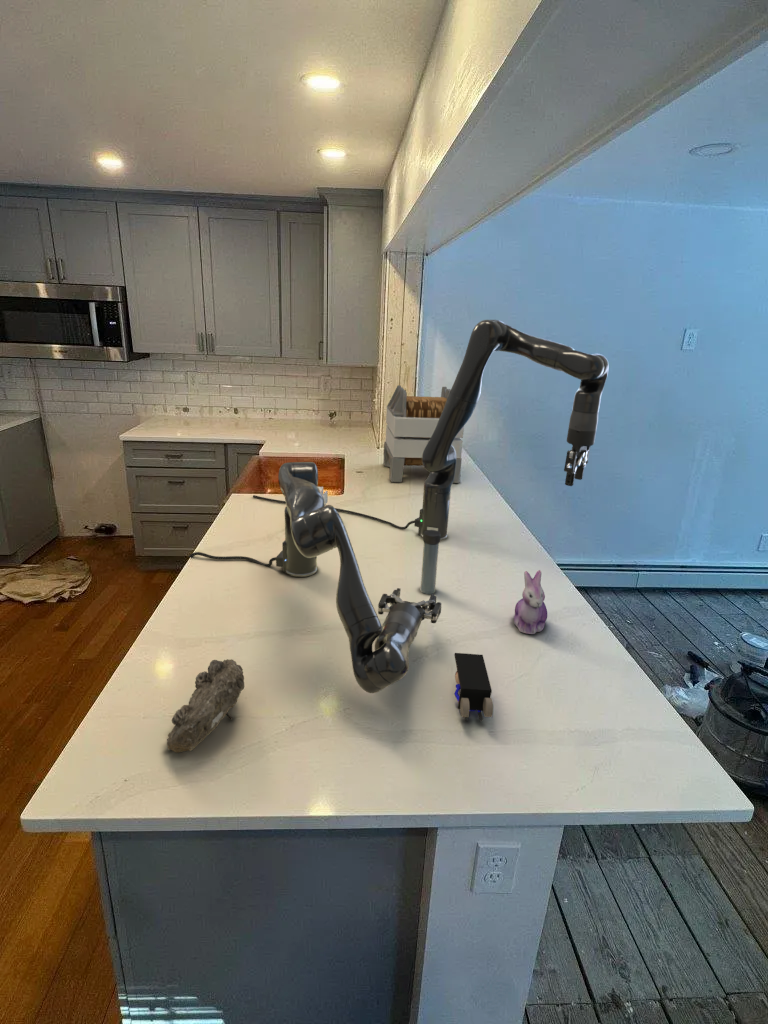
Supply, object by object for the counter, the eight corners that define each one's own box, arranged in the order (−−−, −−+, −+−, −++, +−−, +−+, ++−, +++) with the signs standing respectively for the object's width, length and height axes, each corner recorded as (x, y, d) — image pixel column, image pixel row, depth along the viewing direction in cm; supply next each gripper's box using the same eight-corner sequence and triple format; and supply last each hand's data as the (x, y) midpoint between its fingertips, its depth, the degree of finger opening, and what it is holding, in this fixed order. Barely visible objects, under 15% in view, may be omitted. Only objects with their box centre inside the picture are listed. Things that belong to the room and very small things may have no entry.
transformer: (382, 463, 289) (386, 382, 275) (445, 464, 293) (451, 384, 279) (390, 482, 257) (394, 392, 243) (460, 483, 261) (468, 394, 247)
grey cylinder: (419, 587, 162) (423, 531, 157) (434, 587, 163) (438, 531, 157) (420, 593, 158) (425, 537, 153) (435, 594, 159) (440, 537, 153)
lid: (422, 537, 157) (422, 529, 157) (438, 538, 158) (439, 530, 157) (423, 544, 153) (424, 535, 152) (440, 544, 153) (441, 536, 152)
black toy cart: (492, 733, 109) (479, 678, 122) (498, 704, 105) (484, 650, 119) (458, 733, 109) (448, 677, 122) (462, 703, 105) (452, 650, 119)
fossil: (192, 660, 117) (244, 628, 112) (224, 691, 120) (276, 661, 115) (142, 746, 98) (202, 712, 93) (182, 779, 101) (242, 748, 96)
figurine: (529, 639, 138) (537, 584, 133) (502, 619, 147) (509, 567, 142) (558, 631, 142) (567, 577, 137) (530, 612, 151) (538, 561, 146)
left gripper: (433, 616, 121) (445, 584, 136) (370, 606, 125) (388, 576, 139) (431, 647, 124) (443, 612, 139) (368, 636, 127) (387, 603, 142)
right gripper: (577, 422, 167) (568, 474, 173) (561, 428, 156) (552, 484, 162) (603, 425, 163) (593, 479, 169) (588, 433, 152) (578, 490, 158)
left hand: (415, 594), depth 139 cm, fingers open, 8 cm apart
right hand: (573, 482), depth 165 cm, fingers open, 8 cm apart
